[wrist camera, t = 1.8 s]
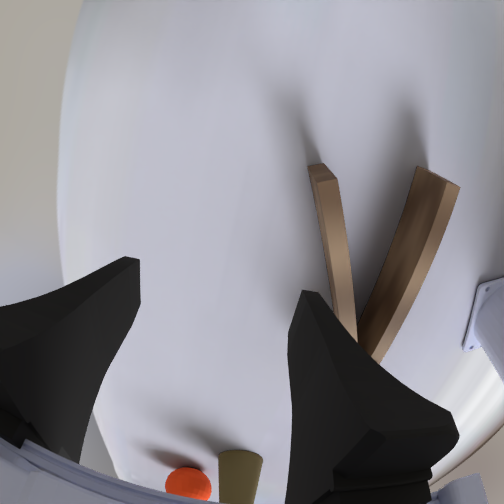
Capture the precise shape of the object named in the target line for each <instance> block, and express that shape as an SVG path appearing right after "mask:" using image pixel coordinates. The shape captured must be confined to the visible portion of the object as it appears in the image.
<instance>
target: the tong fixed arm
mask: <svg viewBox="0 0 504 504" xmlns="http://www.w3.org/2000/svg"><path fill="white" fill-rule="evenodd" d="M459 190H460V187H459V186H457V185H456V184H454V183H452V182H450V181H448V180H447V179H445V178H443V177H441V176H439V175H437V174H435V173H433V172H431V171H429V170H427V169H424V168H421V167H418V166H417V168H416V172H415V175H414V178H413V182H412V185H411V188H410V192H409V195H408V198H407V201H406V204H405V207H404V210H403V213H402V216H401V219H400V222H399V225H398V228H397V230H396V233H395V236H394V239H393V241H392V244H391V247H390V250H389V252H388V255H387V257H386V260H385V262H384V265H383V268H382V270H381V272H380V275H379V277H378V280H377V282H376V285H375V287H374V289H373V292H372V294H371V296H370V299H369V301H368V303H367V305H366V308H365V310H364V312H363V314H362V316H361V319H360V321H359V323H358V325H357V341H358V344H359V345H360V346H361V347H362V348H363V349H364V350H365V351H366V352H367V353H368V354H369V355H370V356H371V357H372V358H373V359H374V360H375V361H376V362H377V363H378V364H380V362H381V361H382V359H383V357H384V356H385V354H386V352H387V351H388V349H389V347H390V345H391V344H392V342H393V340H394V338H395V337H396V335H397V333H398V331H399V329H400V328H401V326H402V324H403V322H404V320H405V318H406V316H407V314H408V313H409V311H410V309H411V307H412V305H413V303H414V301H415V299H416V297H417V295H418V292H419V290H420V288H421V286H422V284H423V282H424V280H425V278H426V275H427V273H428V271H429V269H430V266H431V264H432V262H433V260H434V257H435V255H436V252H437V250H438V248H439V245H440V243H441V240H442V238H443V235H444V233H445V230H446V227H447V225H448V222H449V219H450V216H451V214H452V211H453V208H454V205H455V202H456V199H457V196H458V193H459Z"/></svg>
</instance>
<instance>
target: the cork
mask: <svg viewBox="0 0 504 504" xmlns="http://www.w3.org/2000/svg"><path fill="white" fill-rule="evenodd" d="M262 462H263V459H262V457H261V456H260V455H258V454H256V453H253V452H249V451H243V450H230V451H225V452H222V453H220V454H219V456H218V466H219V503H226V504H254V499H255V495H256V490H257V486H258V481H259V477H260V472H261V467H262Z"/></svg>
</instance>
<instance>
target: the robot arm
mask: <svg viewBox="0 0 504 504" xmlns="http://www.w3.org/2000/svg"><path fill="white" fill-rule="evenodd" d="M140 304H141V300H140V259H136V258H131V257H126V256H125V257H122V258H120V259H118V260H116V261H114V262H112V263H110V264H108V265H106V266H104V267H102V268H100V269H98V270H96V271H94V272H93V273H91V274H89V275H87V276H85V277H83V278H81V279H79V280H77V281H74V282H72V283H70V284H68V285H66V286H64V287H62V288H60V289H58V290H55V291H52V292H50V293H47V294H44V295H42V296H39V297H36V298H32V299H29V300H26V301H22V302H19V303H15V304H11V305H6V306H2V307H0V504H226V503H218V502H212V501H205V500H200V499H194V498H189V497H184V496H179V495H175V494H170V493H166V492H162V491H158V490H154V489H150V488H146V487H143V486H139V485H136V484H133V483H129V482H126V481H123V480H120V479H117V478H114V477H111V476H108V475H105V474H102V473H100V472H97V471H95V470H92V469H89V468H87V467H85V466H82V465H80V464H79V461H80V456H81V451H82V446H83V442H84V437H85V433H86V430H87V426H88V422H89V419H90V415H91V412H92V409H93V406H94V403H95V400H96V397H97V394H98V392H99V389H100V386H101V384H102V381H103V378H104V376H105V374H106V372H107V370H108V368H109V366H110V364H111V362H112V360H113V359H114V357H115V355H116V353H117V351H118V350H119V348H120V346H121V344H122V342H123V341H124V339H125V337H126V335H127V333H128V332H129V330H130V328H131V326H132V324H133V322H134V319H135V317H136V314H137V312H138V309H139V307H140ZM480 347H482V348H483V350H484V351H485V353H486V354H487V356H488V358H489V359H490V361H491V363H492V364H493V366H494V368H495V369H496V371H497V373H498V375H499V376H500V378H501V380H502V382H503V383H504V277H503V278H500V279H496V280H493V281H489V282H486V283H482V284H480V285H479V287H478V289H477V293H476V298H475V302H474V307H473V311H472V315H471V319H470V323H469V326H468V330H467V334H466V337H465V341H464V344H463V347H462V350H463V351H464V352H468V351H471V350H474V349H477V348H480ZM287 356H288V368H289V379H290V390H291V401H292V434H291V451H290V463H289V474H288V483H287V491H286V498H285V504H488V500H487V497H486V493H485V489H484V486H483V483H482V480H481V476H480V473H475V474H472V475H469V476H466V477H463V478H459V479H456V480H453V481H451V482H449V483H448V484H446V485H444V486H443V487H442V488H440V489H439V490H438V491H436V492H432V493H430V489H429V485H428V480H430V479H431V478H432V476H433V475H432V471H431V467H432V466H433V465H435V464H436V463H437V462H438V461H440V460H441V459H442V458H443V457H444V456H446V455H447V454H448V453H449V452H450V451H451V450H452V449H453V448H454V447H455V445H456V444H457V442H458V440H459V433H458V430H457V427H456V425H455V422H454V419H453V417H452V414H451V412H450V411H448V410H446V409H444V408H442V407H440V406H438V405H436V404H434V403H433V402H431V401H429V400H427V399H425V398H424V397H422V396H420V395H419V394H417V393H416V392H414V391H413V390H411V389H410V388H408V387H407V386H405V385H404V384H403V383H401V382H400V381H399V380H397V379H396V378H395V377H394V376H392V375H391V374H390V373H388V372H387V371H386V370H385V369H384V368H383V367H381V366H380V365H379V364H378V363H377V362H376V361H375V360H374V359H373V358H372V357H371V356H370V355H369V354H368V353H367V352H366V351H365V350H364V349H363V348H362V347H361V346H360V345H359V344H358V343H357V341H356V340H355V339H354V338H353V337H352V336H351V335H350V333H349V332H348V331H347V330H346V328H345V327H344V326H343V325H342V323H341V322H340V321H339V320H338V318H337V317H336V316H335V314H334V313H333V311H332V310H331V309H330V307H329V306H328V305H327V303H326V302H325V301H324V299H323V298H322V297H321V295H320V294H319V293H318V292H312V291H306V290H302V292H301V295H300V298H299V301H298V304H297V307H296V310H295V313H294V316H293V320H292V323H291V326H290V329H289V332H288V352H287Z"/></svg>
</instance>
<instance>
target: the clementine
mask: <svg viewBox="0 0 504 504" xmlns="http://www.w3.org/2000/svg"><path fill="white" fill-rule="evenodd" d="M165 489H166V493H170V494H175V495H179V496H184V497H189V498H194V499H200V500H205V501H207V500H208V499H209V497H210V495H211V483H210V480H209V479H208V478H207V476H206V475H205V474H204V473H202V472H201V471H199V470H197V469H194V468H189V467H183V468H179V469H176V470H175V471H173V472H171V473H170V475H169V476H168V478H167V480H166V483H165Z"/></svg>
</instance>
